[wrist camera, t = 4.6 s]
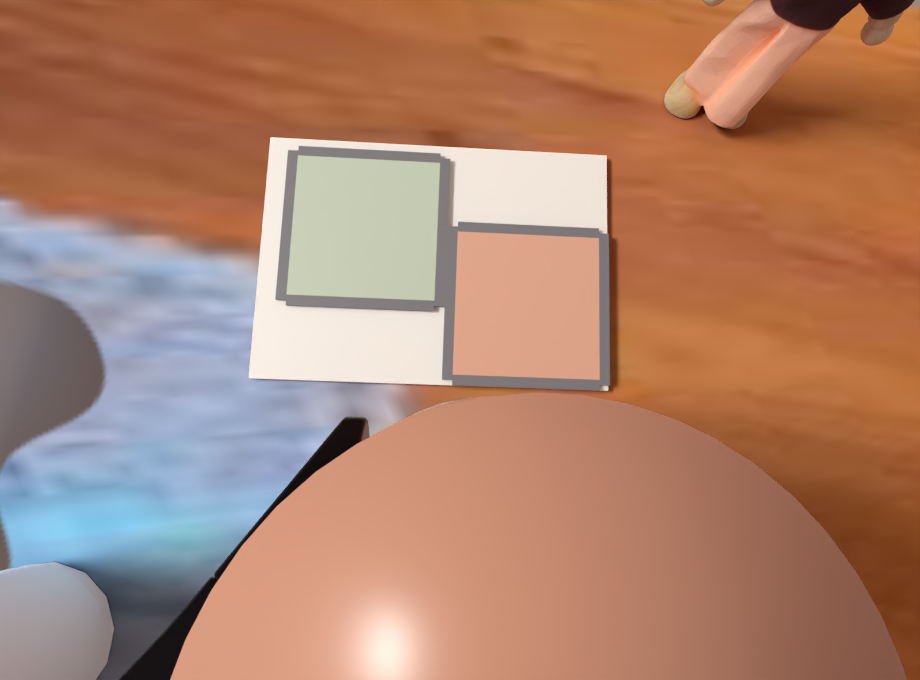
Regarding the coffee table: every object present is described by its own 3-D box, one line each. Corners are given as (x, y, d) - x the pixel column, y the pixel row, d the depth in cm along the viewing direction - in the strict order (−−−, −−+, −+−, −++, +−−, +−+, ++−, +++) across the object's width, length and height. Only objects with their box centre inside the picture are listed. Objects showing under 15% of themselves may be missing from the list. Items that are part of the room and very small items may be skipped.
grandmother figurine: (645, 131, 25) (857, -146, 12) (645, 64, 25) (849, -268, 13) (787, 142, 25) (1138, -117, 12) (785, 76, 26) (1120, -238, 13)
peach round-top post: (546, 449, 16) (1059, 691, 3) (470, 557, 15) (658, 1508, 2) (445, 373, 16) (469, 252, 3) (366, 477, 15) (-40, 906, 2)
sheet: (605, 390, 23) (610, 390, 22) (251, 378, 22) (246, 377, 22) (604, 158, 24) (608, 153, 24) (272, 140, 24) (268, 134, 23)
